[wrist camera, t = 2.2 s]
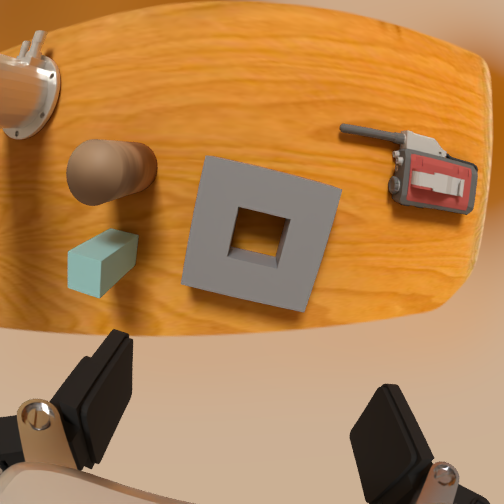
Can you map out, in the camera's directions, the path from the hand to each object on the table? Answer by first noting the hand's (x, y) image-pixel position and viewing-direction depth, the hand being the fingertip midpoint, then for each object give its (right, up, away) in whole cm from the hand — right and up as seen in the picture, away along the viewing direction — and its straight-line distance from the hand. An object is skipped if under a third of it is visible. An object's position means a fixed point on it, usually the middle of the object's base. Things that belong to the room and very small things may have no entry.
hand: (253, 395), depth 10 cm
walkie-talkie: (+19, +15, +23) cm, 34 cm away
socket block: (+1, +8, +25) cm, 26 cm away
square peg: (-16, +6, +26) cm, 31 cm away
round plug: (-14, +15, +23) cm, 31 cm away
